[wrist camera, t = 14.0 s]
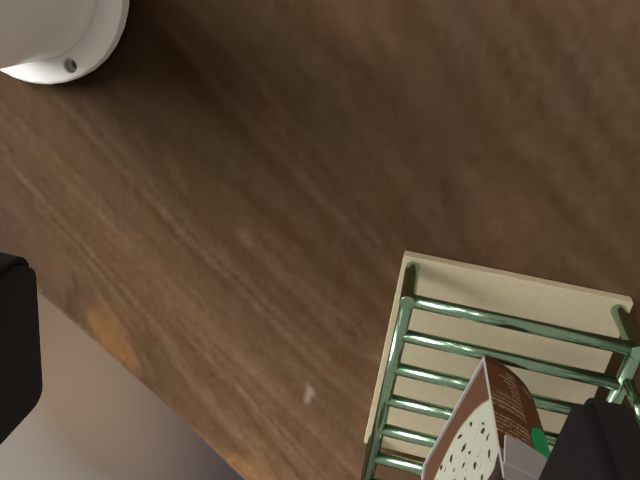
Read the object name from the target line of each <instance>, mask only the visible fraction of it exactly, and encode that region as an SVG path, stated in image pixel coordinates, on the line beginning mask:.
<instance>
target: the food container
mask: <svg viewBox="0 0 640 480" xmlns="http://www.w3.org/2000/svg"><path fill="white" fill-rule="evenodd" d="M549 455H550V450H549V446H548V443H547V440H546V437H545V434H544V430H543V427H542V424H541V421H540V418H539V414H538V411H537V408H536V405H535V402H534V399H533V397H532V395H531V393H530V391H529V390H528V388H527V386H526V385H525V384H524V383H523V381H522V380H521V379H520V378H519V377H518V376H517V375H516V374H515V373H514V372H512V371H511V370H510V369H509V368H507V367H506V366H504V365H503V364H501V363H500V362H498V361H496V360H494V359H492V358H489V357H487V356H485V355H484V356H483V358H482V360H481V362H480V364H479V365H478V367H477V369H476V371H475V372H474V374H473V376H472V378H471V380H470V381H469V383H468V385H467V387H466V389H465V390H464V392H463V394H462V396H461V397H460V399H459V401H458V403H457V405H456V406H455V408H454V410H453V412H452V414H451V415H450V417H449V419H448V421H447V423H446V424H445V426H444V428H443V430H442V431H441V433H440V435H439V437H438V439H437V440H436V442H435V444H434V446H433V448H432V449H431V451H430V453H429V455H428V456H427V458H426V460H425V462H424V464H423V469H422V478H421V480H538V479H539V477H540V475H541V473H542V470H543V468H544V466H545V464H546V462H547V460H548V457H549Z"/></svg>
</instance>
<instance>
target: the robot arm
mask: <svg viewBox="0 0 640 480" xmlns="http://www.w3.org/2000/svg"><path fill="white" fill-rule="evenodd" d="M128 10H129V0H0V71H2V72H4V73H6V74H8V75H10V76H12V77H14V78H16V79H20V80H23V81H27V82H30V83H37V84H57V83H64V82H68V81H71V80H75V79H78V78H81V77H83V76H85V75H87V74H88V73H90V72H92V71H94V70H96V69H97V68H98V67H99V66H100V65H101V64H102V63H103V62H104V61H105V60H107V59H108V57H109V56H110V54H111V53H112V52H113V50H114V49H115V47H116V46H117V44H118V42H119V40H120V37H121V35H122V33H123V30H124V28H125V24H126V19H127V15H128ZM41 393H42V370H41V353H40V336H39V319H38V302H37V285H36V274H35V272H34V270H33V269H31V268H29V264H28V262H27V261H26V259H24V258H22V257H18V256H14V255H10V254H6V253H2V252H0V444H1V443H2V442H3V441H4V440H5V439H6V438H7V437H8V436H9V435H10V434H11V432H12V431H13V430H14V429H15V428H16V427H17V426H18V425H19V424H20V423H21V421H22V420H23V419H24V418H25V417H26V416H27V415H28V414H29V413H30V412H31V410H32V409H33V408H34V407H35V406H36V404H37V403H38V401H39V399H40V396H41ZM538 480H640V428H639V426H638V424H637V421H636V419H635V417H634V414H633V412H632V411H631V409H630V408H629V407H628V406H625V405H621V404H617V403H613V402H609V401H605V400H601V399H597V398H593V397H592V398H589V399H587V400H586V401H585V403H584V405H583V404H579V403H576V404H574V405H573V406H572V408H571V410H570V412H569V414H568V416H567V418H566V421H565V423H564V425H563V427H562V429H561V431H560V434H559V436H558V438H557V440H556V442H555V444H554V447H553V449H552V451H551V453H550V455H549V457H548V460H547V462H546V464H545V466H544V468H543V470H542V473H541V475H540V477H539V479H538Z"/></svg>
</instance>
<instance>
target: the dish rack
mask: <svg viewBox="0 0 640 480" xmlns="http://www.w3.org/2000/svg"><path fill="white" fill-rule="evenodd" d="M633 304H634V303H633V301H632V299H631V297H629V296H624V295H619V294H614V293H610V292H605V291H600V290H595V289H590V288H585V287H581V286H576V285H571V284H566V283H561V282H556V281H551V280H547V279H542V278H537V277H532V276H527V275H522V274H517V273H513V272H508V271H503V270H498V269H493V268H488V267H484V266H479V265H474V264H469V263H464V262H459V261H454V260H450V259H445V258H440V257H435V256H430V255H425V254H420V253H416V252H411V251H406V250H405V251H404V256H403V260H402V265H401V270H400V274H399V279H398V284H397V289H396V293H395V298H394V303H393V307H392V312H391V317H390V321H389V326H388V331H387V335H386V340H385V345H384V349H383V354H382V359H381V364H380V368H379V373H378V378H377V382H376V387H375V392H374V396H373V401H372V406H371V410H370V415H369V420H368V424H367V429H366V434H365V439H364V443H367V447H366V453H365V458H364V463H363V468H362V474H361V479H360V480H382V479H378V478H375V477H374V476H375V471H376V466H377V464H380V465H384V466H388V467H391V468H395V469H399V470H403V471H407V472H411V473H415V474H419V475H422V469H423V464H424V462H420V461H416V460H412V459H408V458H404V457H400V456H396V455H392V454H388V453H384V452H380V449H381V447H383V448H387V449H391V450H395V451H399V452H403V453H407V454H411V455H414V456H418V457H422V458H427V456H428V455H429V453H430V451H431V449H432V448H433V446H434V444H435V442H436V440H437V439H438V437H439V435H440V433H441V431H442V430H443V428H444V426H445V424H446V423H447V421H448V419H449V417H450V415H451V414H452V412H453V410H454V408H455V406H456V405H457V403H458V401H459V399H460V397H461V396H462V394H463V392H464V390H465V389H466V387H467V385H468V383H469V381H470V380H471V378H472V376H473V374H474V372H475V371H476V369H477V367H478V365H479V364H480V362H481V360H482V358H483V356H484V355H485V356H487V357H489V358H492V359H494V360H496V361H498V362H500V363H501V364H503V365H504V366H506V367H507V368H509V369H510V370H511V371H512V372H514V373H515V374H516V375H517V376H518V377H519V378H520V379H521V380H522V381H523V383H524V384H525V385H526V386H527V388H528V390H529V391H530V393H531V395H532V397H533V399H534V402H535V405H536V408H537V411H538V414H539V418H540V421H541V424H542V427H543V430H544V434H545V437H546V440H547V443H548V446H549V450H550V453H551V451H552V449H553V447H554V444H555V442H556V440H557V438H558V436H559V434H560V431H561V429H562V427H563V425H564V423H565V421H566V418H567V416H568V414H569V412H570V410H571V408H572V406H573V405H574V404H576V403H579V404H583V405H584V403H585V401H586V400H587V399H589V398H592V397H593V398H594V396H595V394H596V391H597V389H598V386H599V387H603V388H607V389H610V391H609V394H608V396H607V398H606V401H609V402H613V403H617V404H622V402H623V400H624V398H625V395H627V397H628V400H629V402H630V405H631V407H632V410H633V412H634V415H635V417H636V420H637V422H638V424H639V425H640V395H639V392H638V390H637V388H636V385H635V383H634V381H633V378H634V375H635V373H636V371H637V369H638V366H639V364H640V335H639V333H638V331H637V329H636V327H635V325H634V323H633V321H632V319H631V317H630V315H629V313H630V311H631V308H632V306H633ZM620 335H621V337H622V339H619V337H620ZM613 352H615V353H619V354H624V355H625V357H624V359H623V362H622V364H621V366H620V368H619V371H618V373H617V375H616V376H615V375H610V374H606V373H604V372H605V370H606V368H607V365H608V363H609V360H610V358H611V356H612V353H613Z"/></svg>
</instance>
